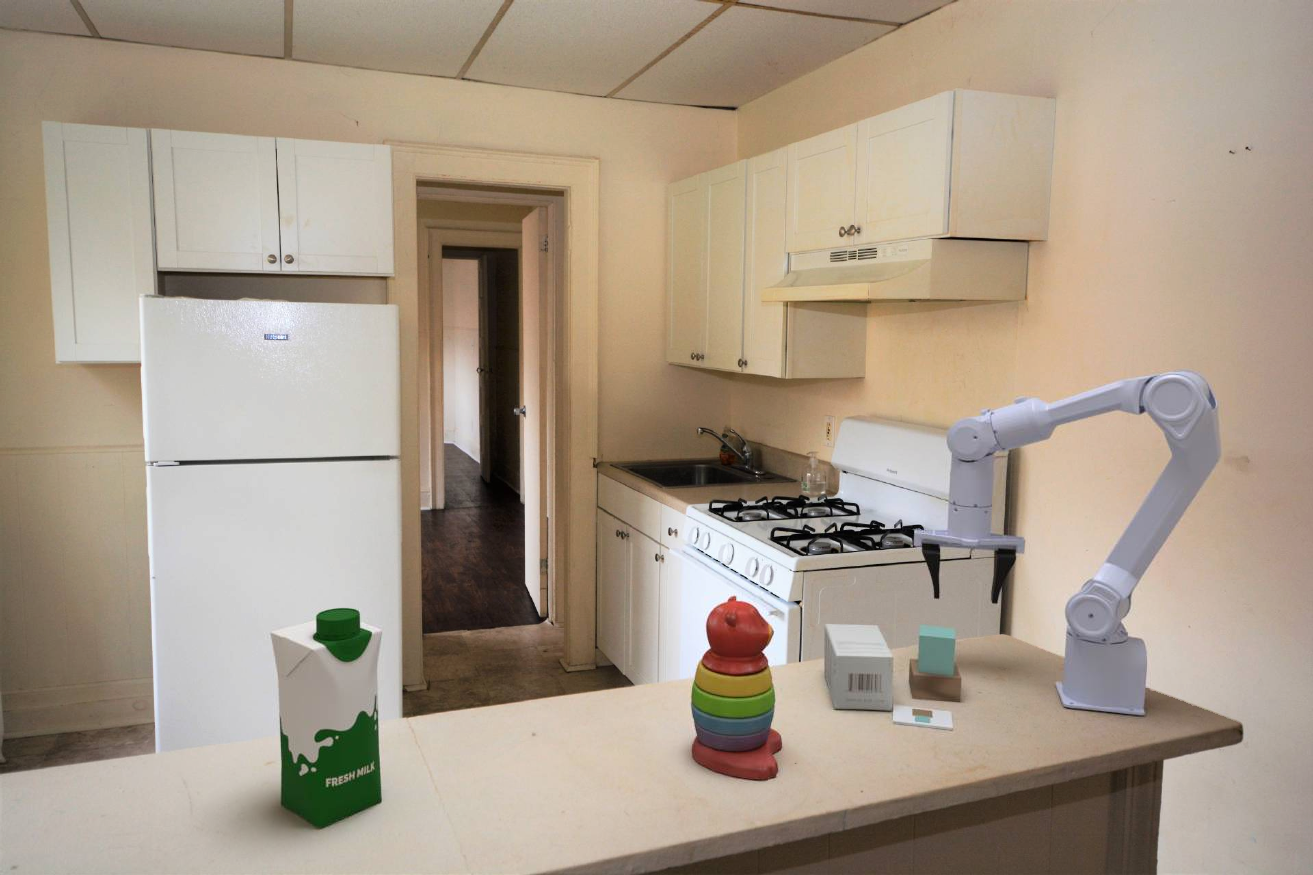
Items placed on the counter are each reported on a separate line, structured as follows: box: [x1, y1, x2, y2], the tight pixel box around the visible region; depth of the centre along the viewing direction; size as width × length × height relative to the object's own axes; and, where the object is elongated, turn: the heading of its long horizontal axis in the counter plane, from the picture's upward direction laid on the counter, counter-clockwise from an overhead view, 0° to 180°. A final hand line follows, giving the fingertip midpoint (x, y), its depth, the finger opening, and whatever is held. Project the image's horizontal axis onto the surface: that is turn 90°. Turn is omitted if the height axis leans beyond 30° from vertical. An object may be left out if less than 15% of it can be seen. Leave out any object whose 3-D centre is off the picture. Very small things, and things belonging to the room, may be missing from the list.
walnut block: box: [908, 658, 963, 703], centre depth 125 cm, size 6×6×4 cm
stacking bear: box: [690, 595, 783, 780], centre depth 105 cm, size 11×10×18 cm
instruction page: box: [892, 704, 954, 731], centre depth 117 cm, size 7×5×1 cm
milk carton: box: [270, 607, 383, 829], centre depth 93 cm, size 9×9×20 cm
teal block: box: [917, 624, 956, 676], centre depth 125 cm, size 4×4×5 cm
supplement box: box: [823, 623, 894, 712], centre depth 125 cm, size 7×7×13 cm
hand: (965, 599), depth 132 cm, fingers open, 7 cm apart
